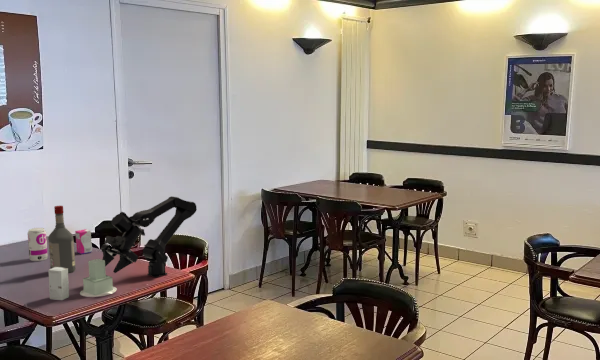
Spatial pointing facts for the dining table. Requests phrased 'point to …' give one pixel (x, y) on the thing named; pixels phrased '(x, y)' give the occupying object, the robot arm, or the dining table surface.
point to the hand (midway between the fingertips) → (107, 270)
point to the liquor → (61, 244)
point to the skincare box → (58, 283)
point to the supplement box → (83, 241)
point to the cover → (97, 278)
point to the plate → (97, 295)
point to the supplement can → (37, 244)
